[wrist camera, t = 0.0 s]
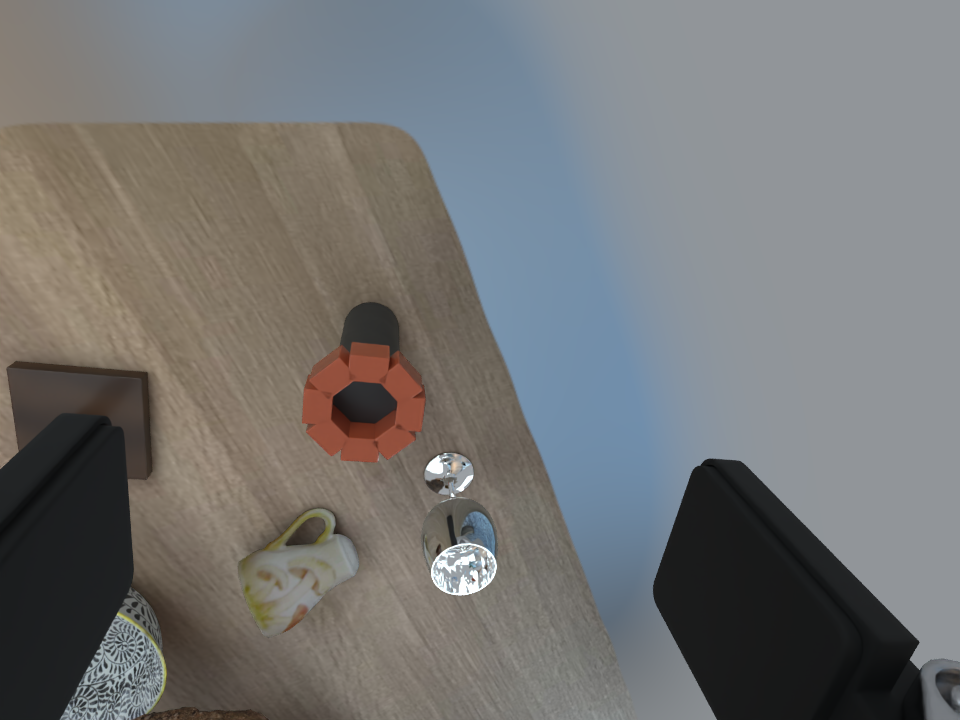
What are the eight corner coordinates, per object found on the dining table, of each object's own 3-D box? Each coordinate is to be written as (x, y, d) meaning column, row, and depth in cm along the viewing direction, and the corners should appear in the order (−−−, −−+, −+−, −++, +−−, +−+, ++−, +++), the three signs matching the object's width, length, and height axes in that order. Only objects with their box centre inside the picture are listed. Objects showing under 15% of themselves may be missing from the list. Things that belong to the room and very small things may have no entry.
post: (15, 361, 44) (-98, 438, 34) (147, 372, 46) (77, 448, 35) (30, 464, 47) (-70, 563, 37) (152, 471, 49) (89, 567, 39)
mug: (379, 558, 56) (330, 666, 49) (291, 541, 59) (233, 640, 52) (357, 510, 51) (299, 620, 44) (263, 494, 54) (194, 595, 47)
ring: (310, 337, 34) (305, 350, 32) (429, 349, 35) (431, 362, 33) (304, 440, 36) (299, 458, 35) (415, 448, 38) (416, 465, 36)
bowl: (194, 535, 52) (164, 601, 45) (192, 668, 57) (166, 744, 51) (-15, 524, 49) (-82, 593, 42) (6, 665, 54) (-50, 746, 47)
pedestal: (346, 299, 46) (332, 360, 35) (401, 305, 46) (404, 367, 35) (342, 349, 47) (327, 423, 36) (395, 354, 48) (396, 428, 37)
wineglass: (477, 501, 55) (498, 600, 44) (414, 500, 54) (419, 601, 43) (484, 447, 52) (509, 537, 41) (419, 444, 51) (426, 536, 40)
